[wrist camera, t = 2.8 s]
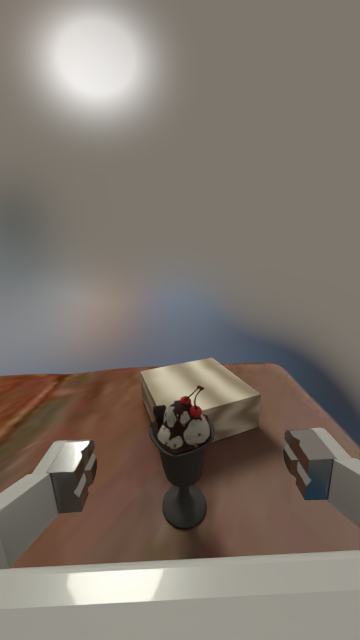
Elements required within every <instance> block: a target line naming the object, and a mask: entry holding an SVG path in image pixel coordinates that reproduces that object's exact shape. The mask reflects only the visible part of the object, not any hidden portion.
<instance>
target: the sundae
mask: <svg viewBox="0 0 360 640" xmlns="http://www.w3.org/2000/svg"><path fill="white" fill-rule="evenodd" d="M197 389H200V390H199V392H200V391H202V390H204V387H202V386H197ZM197 389H196V390H197ZM196 390H195V391H196ZM195 391H194V392H195ZM194 392H193V393H192V394H191V395H189V396H184V397H181V399H180V400H177V401H174V402H173V403H171V404H170V405H169V406H168V407H167V408H166V406H165V405H158V406H154V407H153V413H154V417H155V421H154V422H152V423H151V425H150V426H151V428H150V431H149V433H150V437H151V439H152V441H153V443H154V444H155V446H156V447H157V448H158V449H159V451H160V455H161V460H162V465H163V468H164V471H165V474H166V477H167V479H168V480H169V481H170V482H171V483H172V484H173V485H175V486H174V487H172V488H171V489H170V490H169V491H168V492H167V493H166V495H165V497H164V500H163V512H164V515H165V517H166V519H167V520H168V521H169V522H170V523H171V524H172V525H173V526H176V527H179V528H190V527H193V526H195V525H196V524H198V523H199V522H200V521H201V520H202V518H203V517H204V515H205V512H206V500H205V497H204V495H203V494H202V492H201V491H200V490H199V489H198V488H197V487H195V486H194V485H193V484H194V483H196V482H197V481H198V480H199V478H200V475H201V471H202V467H203V463H204V455H205V448H206V446H208V445H209V444H210V443H212V441H213V440H214V436H215V430H214V426H213V423H212V421H211V420H210V419H209V418H208V416H207V415H205V414H202V410H201V408H200V407H199V406H196V397H197V395H198V394H199V392H198V393H197V394H196V396H195V399H194V406H192V404H191V399H190V398H189V397H190V396H192V395H193V394H194Z"/></svg>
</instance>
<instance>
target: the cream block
mask: <svg viewBox="0 0 360 640" xmlns="http://www.w3.org/2000/svg"><path fill="white" fill-rule="evenodd" d="M140 375H141V387H142V399H143V401H144V404H145V406H146V409H147V411H148V414H149V416H150V419H151V421H152V422H154V421H155V417H154V413H153V407H154V406H158V405H165V406H166V408H167V407H168V406H169V405H170V404H171V403H173V402H174V401H177V400H180V399H181V397H184V396H189V395H191V394H192V393H193V392H194V391H195V390H196V389H197V386H202V387H204V390H202V391H200V392H199V390H200V389H197V390H196V391H195V392H194V394H193V395H192V396H190V397H189V398H190V399H191V404H192V406H194V399H195V396H196V394H197V393H198V392H199V394H198V395H197V397H196V406H199V407H200V408H201V410H202V414H205V415H207V416H208V418H209V419H210V420H211V421H212V423H213V426H214V430H215V436H214V440H213V441H212V442H215V441H218V440H221V439H224V438H227V437H230V436H233V435H236V434H239V433H242V432H245V431H248V430H251V429H254V428H257V427H259V412H260V396H261V394H259V393H258V392H257V391H255V390H254V389H253V388H251V387H250V386H249V385H247V384H246V383H245V382H243V381H242V380H241V379H239V378H238V377H237V376H235V375H234V374H233V373H231V372H230V371H229V370H227V369H226V368H225V367H223V366H222V365H221V364H219V363H218V362H217V361H215V360H214V359H213V358H208V359H203V360H197V361H192V362H188V363H182V364H177V365H171V366H166V367H161V368H156V369H150V370H145V371H140Z"/></svg>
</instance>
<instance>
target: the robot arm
mask: <svg viewBox="0 0 360 640" xmlns="http://www.w3.org/2000/svg"><path fill="white" fill-rule="evenodd" d="M284 439H285V440H286V442H287V444H286V445H285V447H284V460H285V463H286V466H287V468H288V470H289V472H290V474H292V475H293V476H294V477H296V485H297V487H298V489H299V490H300V492H301V494H302V496H303V498H304V499H305V500H328V502H330V503H331V504H332V505H333V506H334V507H335V508H337V509H338V510H339V511H340V512H341V513H342V514H344V515H345V516H346V517H347V518H348V519H349V520H351V521H352V522H353V523H354V524H355V525H357V526H358V527H359V528H360V460H358V459H356V458H351V457H350V456H349V455H348V454H347V453H346V452H345V451H344V449H343V448H342V447H341V446H340V445H339V444H338V443H337V442H336V441H335V440H334V439H333V437H332V436H331V435H330V434H329V433H328V432H327V431H326V430H325V429H323V428H312V429H300V430H286V432H285V438H284ZM94 448H95V447H94V441H92V440H68V441H56V442H54V443H53V444H52V445H51V447H50V448H49V450H48V451H47V453H46V454H45V455H44V457H43V458H42V460H41V461H40V463H39V464H38V466H37V467H36V468H35V470H34V471H33V473H32V474H28V475H26V476H25V477H23V478H22V479H20V480H19V481H17V482H16V483H15V484H13V485H12V486H10V487H9V488H7V489H6V490H4V491H3V492H1V493H0V640H360V550H354V551H334V552H315V553H296V554H278V555H259V556H240V557H221V558H202V559H183V560H163V561H144V562H125V563H106V564H87V565H68V566H49V567H30V568H11V569H10V567H11V566H12V565H13V564H14V563H15V562H16V561H17V560H18V558H19V557H20V556H21V555H22V554H23V553H24V552H25V551H26V550H27V549H28V548H29V547H30V545H31V544H32V543H33V542H34V541H35V540H36V539H37V538H38V537H39V536H40V535H41V534H42V533H43V531H44V530H45V529H46V528H47V527H48V526H49V525H50V524H51V523H52V522H53V521H54V520H55V518H56V517H57V516H58V515H59V514H60V513H72V512H82V510H83V507H84V505H85V502H86V500H87V497H88V487H89V486H90V485H91V484H92V483H93V481H94V478H95V475H96V469H97V460H96V456H95V455H94V454H93V451H94Z"/></svg>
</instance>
